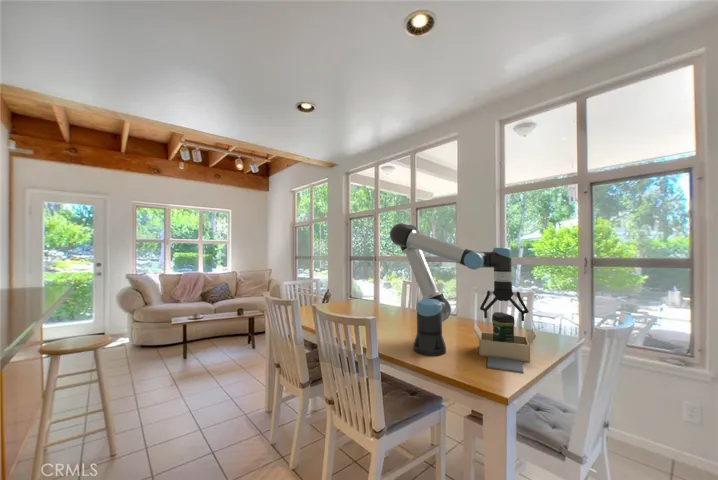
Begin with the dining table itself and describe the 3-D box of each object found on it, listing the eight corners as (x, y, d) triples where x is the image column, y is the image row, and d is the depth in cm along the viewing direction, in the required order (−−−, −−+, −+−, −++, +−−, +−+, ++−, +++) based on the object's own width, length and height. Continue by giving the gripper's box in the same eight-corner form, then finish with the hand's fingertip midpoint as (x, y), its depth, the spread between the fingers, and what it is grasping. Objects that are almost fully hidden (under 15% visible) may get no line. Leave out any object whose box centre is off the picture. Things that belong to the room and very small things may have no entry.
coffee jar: (518, 356, 136) (517, 315, 136) (502, 357, 134) (501, 315, 135) (504, 349, 145) (504, 310, 146) (489, 350, 144) (489, 311, 145)
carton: (473, 354, 138) (473, 329, 139) (475, 345, 152) (475, 322, 152) (537, 363, 128) (536, 336, 128) (533, 352, 142) (532, 327, 142)
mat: (487, 367, 123) (487, 366, 123) (487, 357, 135) (487, 356, 135) (523, 373, 118) (523, 371, 118) (520, 361, 129) (520, 360, 129)
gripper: (473, 280, 143) (474, 326, 142) (534, 282, 132) (536, 331, 132) (474, 279, 149) (475, 322, 149) (532, 280, 139) (534, 327, 138)
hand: (503, 326), depth 140 cm, fingers open, 13 cm apart
